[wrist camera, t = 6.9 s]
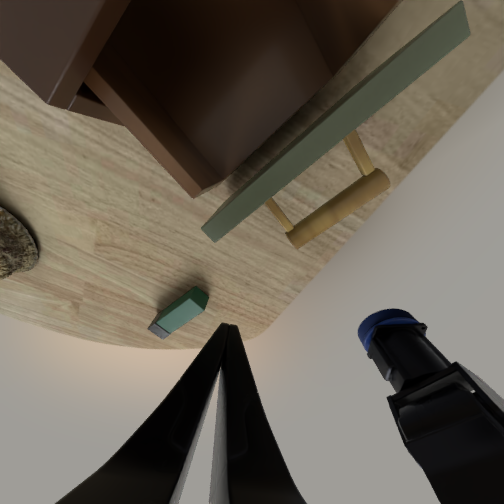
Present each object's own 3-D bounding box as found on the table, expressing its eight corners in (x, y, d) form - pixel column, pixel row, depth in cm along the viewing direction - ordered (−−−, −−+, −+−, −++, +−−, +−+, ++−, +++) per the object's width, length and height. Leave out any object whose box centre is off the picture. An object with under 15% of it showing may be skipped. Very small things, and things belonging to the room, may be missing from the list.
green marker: (195, 285, 23) (189, 298, 21) (209, 297, 24) (204, 311, 22) (156, 314, 26) (147, 328, 23) (170, 324, 26) (162, 339, 24)
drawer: (388, 155, 15) (498, 147, 8) (262, 246, 20) (264, 294, 12) (236, -177, 9) (166, -1271, 2) (98, 58, 13) (-84, -62, 6)
